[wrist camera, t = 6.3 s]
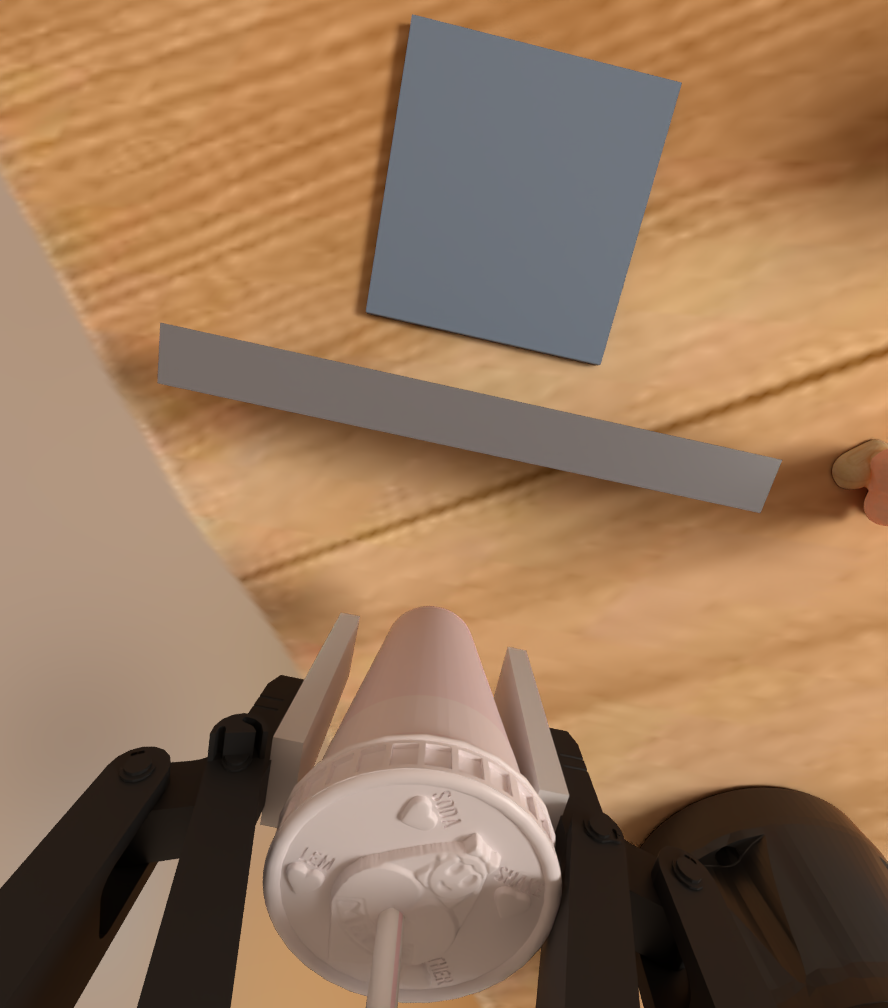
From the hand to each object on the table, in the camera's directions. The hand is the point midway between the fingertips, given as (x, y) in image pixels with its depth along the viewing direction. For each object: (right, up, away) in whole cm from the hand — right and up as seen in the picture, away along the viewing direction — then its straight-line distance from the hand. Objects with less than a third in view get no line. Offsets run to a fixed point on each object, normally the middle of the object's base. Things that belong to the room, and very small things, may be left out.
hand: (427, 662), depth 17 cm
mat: (+4, +19, +2) cm, 20 cm away
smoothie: (0, 0, +1) cm, 1 cm away
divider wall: (+2, +11, +4) cm, 11 cm away
